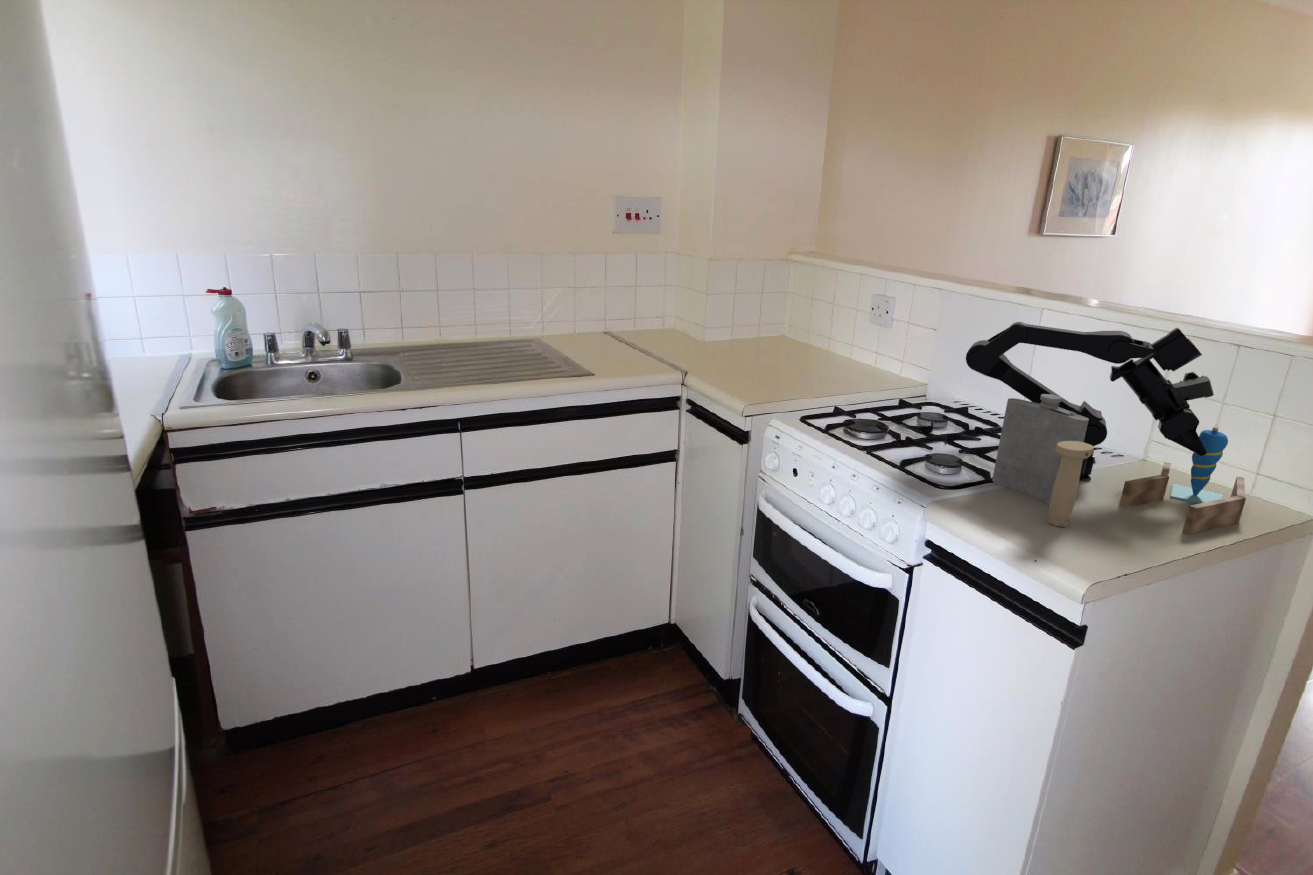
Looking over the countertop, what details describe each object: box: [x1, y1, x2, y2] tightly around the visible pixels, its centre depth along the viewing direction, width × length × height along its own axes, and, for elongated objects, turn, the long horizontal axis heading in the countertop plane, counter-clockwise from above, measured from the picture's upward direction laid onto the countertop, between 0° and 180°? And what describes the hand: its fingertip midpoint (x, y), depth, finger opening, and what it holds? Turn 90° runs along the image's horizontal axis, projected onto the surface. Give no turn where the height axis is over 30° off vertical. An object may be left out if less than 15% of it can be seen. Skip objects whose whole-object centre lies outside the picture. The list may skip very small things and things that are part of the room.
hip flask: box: [991, 394, 1089, 505], centre depth 148 cm, size 16×4×20 cm, turn 32°
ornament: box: [1190, 423, 1229, 495], centre depth 149 cm, size 5×5×15 cm
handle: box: [1048, 441, 1095, 528], centre depth 134 cm, size 5×6×15 cm
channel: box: [1118, 461, 1247, 535], centre depth 145 cm, size 25×26×5 cm
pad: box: [1169, 483, 1223, 504], centre depth 152 cm, size 8×8×1 cm
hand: (1200, 447), depth 150 cm, fingers open, 9 cm apart
